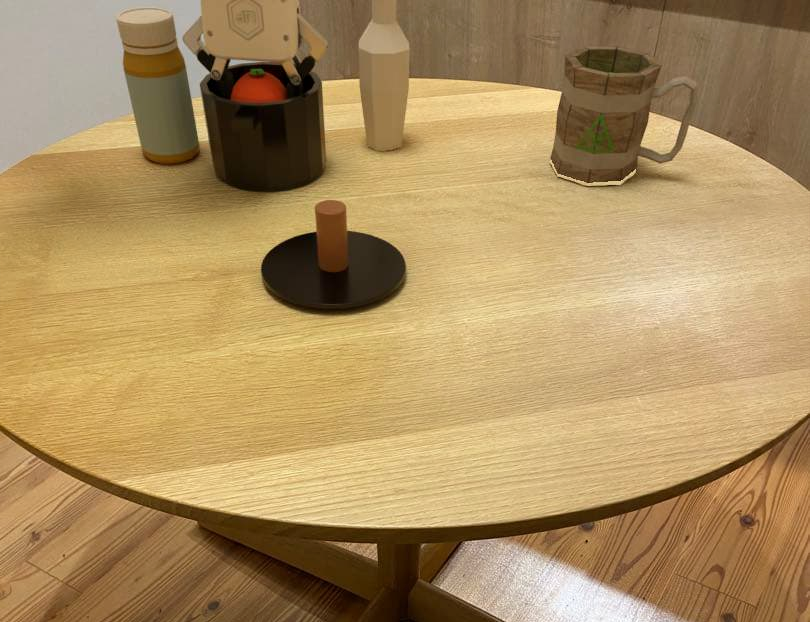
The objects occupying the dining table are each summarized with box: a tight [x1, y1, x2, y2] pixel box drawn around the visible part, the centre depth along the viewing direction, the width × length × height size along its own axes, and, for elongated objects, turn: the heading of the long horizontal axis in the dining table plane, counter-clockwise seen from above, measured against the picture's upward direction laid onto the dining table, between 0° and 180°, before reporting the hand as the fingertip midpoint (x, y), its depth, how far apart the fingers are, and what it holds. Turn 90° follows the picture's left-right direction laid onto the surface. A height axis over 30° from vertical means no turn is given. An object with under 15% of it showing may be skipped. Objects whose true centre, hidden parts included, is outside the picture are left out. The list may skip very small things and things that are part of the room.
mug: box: [549, 45, 699, 183], centre depth 94 cm, size 16×11×12 cm
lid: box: [260, 199, 407, 310], centre depth 78 cm, size 15×15×7 cm
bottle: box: [116, 6, 200, 165], centre depth 94 cm, size 7×7×15 cm
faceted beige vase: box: [358, 0, 410, 152], centre depth 94 cm, size 6×6×22 cm
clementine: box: [230, 69, 287, 103], centre depth 92 cm, size 8×7×7 cm
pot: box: [199, 61, 327, 193], centre depth 94 cm, size 14×19×10 cm
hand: (262, 115), depth 93 cm, fingers closed on clementine, 7 cm apart
